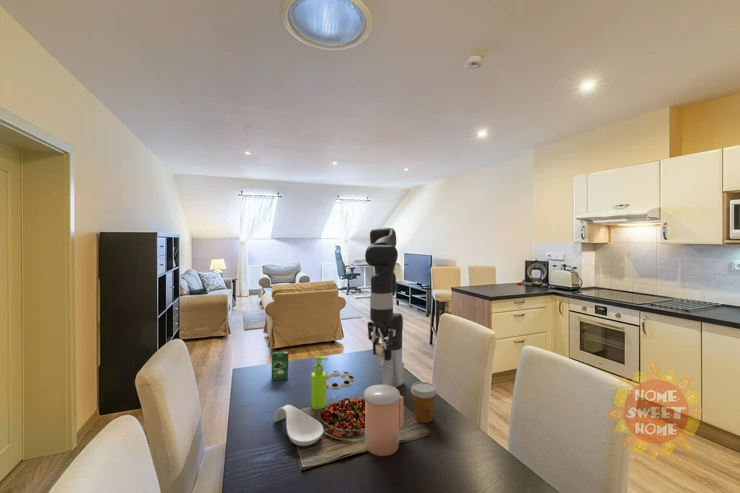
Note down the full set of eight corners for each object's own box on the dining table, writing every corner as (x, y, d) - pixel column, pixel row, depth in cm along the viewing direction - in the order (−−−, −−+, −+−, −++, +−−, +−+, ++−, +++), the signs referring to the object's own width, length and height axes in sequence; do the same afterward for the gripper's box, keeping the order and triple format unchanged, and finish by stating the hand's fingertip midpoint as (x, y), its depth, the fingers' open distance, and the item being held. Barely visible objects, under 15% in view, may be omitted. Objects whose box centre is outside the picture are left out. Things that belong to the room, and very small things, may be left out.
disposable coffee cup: (437, 414, 121) (437, 383, 121) (434, 427, 112) (434, 394, 112) (413, 409, 124) (413, 379, 124) (408, 422, 115) (408, 390, 115)
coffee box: (288, 377, 155) (288, 350, 155) (288, 379, 152) (288, 352, 152) (271, 378, 153) (271, 352, 153) (271, 381, 151) (271, 354, 151)
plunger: (383, 364, 105) (383, 342, 105) (390, 368, 102) (390, 345, 102) (373, 366, 103) (373, 344, 103) (380, 370, 100) (380, 347, 100)
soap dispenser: (325, 410, 124) (325, 360, 124) (309, 408, 125) (308, 359, 125) (330, 403, 130) (330, 355, 130) (314, 401, 131) (314, 353, 131)
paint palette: (306, 382, 150) (306, 378, 150) (336, 369, 165) (336, 365, 165) (334, 395, 138) (334, 390, 138) (363, 380, 153) (363, 376, 152)
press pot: (391, 427, 112) (391, 380, 112) (412, 445, 102) (412, 393, 102) (357, 441, 105) (357, 390, 104) (377, 461, 95) (377, 405, 95)
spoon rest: (330, 440, 106) (330, 419, 106) (300, 457, 97) (300, 434, 97) (292, 414, 122) (292, 395, 122) (263, 426, 114) (263, 407, 114)
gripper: (404, 308, 98) (404, 361, 99) (378, 301, 111) (378, 348, 111) (385, 311, 94) (385, 366, 95) (360, 303, 106) (360, 352, 107)
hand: (381, 356), depth 103 cm, fingers open, 6 cm apart
